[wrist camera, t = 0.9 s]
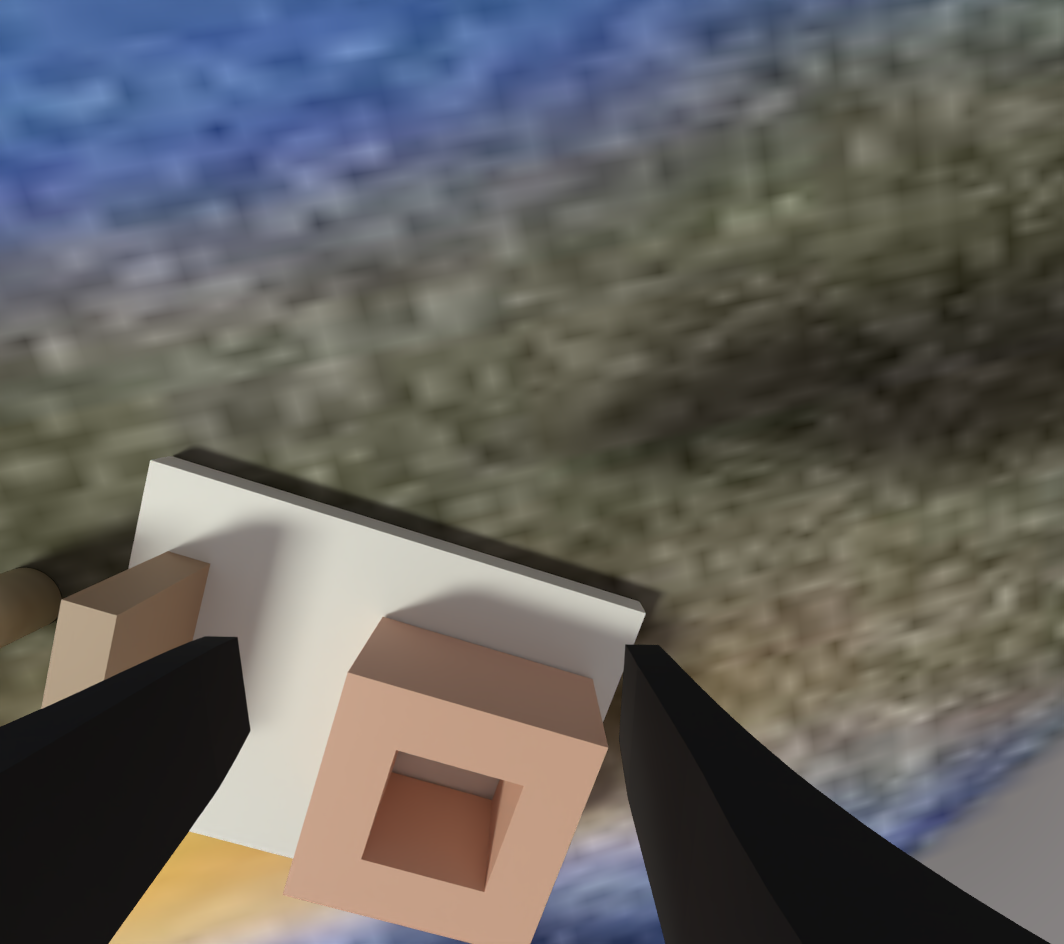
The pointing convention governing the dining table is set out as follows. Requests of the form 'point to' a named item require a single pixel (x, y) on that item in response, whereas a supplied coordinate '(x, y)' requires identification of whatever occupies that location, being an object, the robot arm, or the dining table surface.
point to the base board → (312, 625)
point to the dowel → (26, 603)
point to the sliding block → (439, 812)
